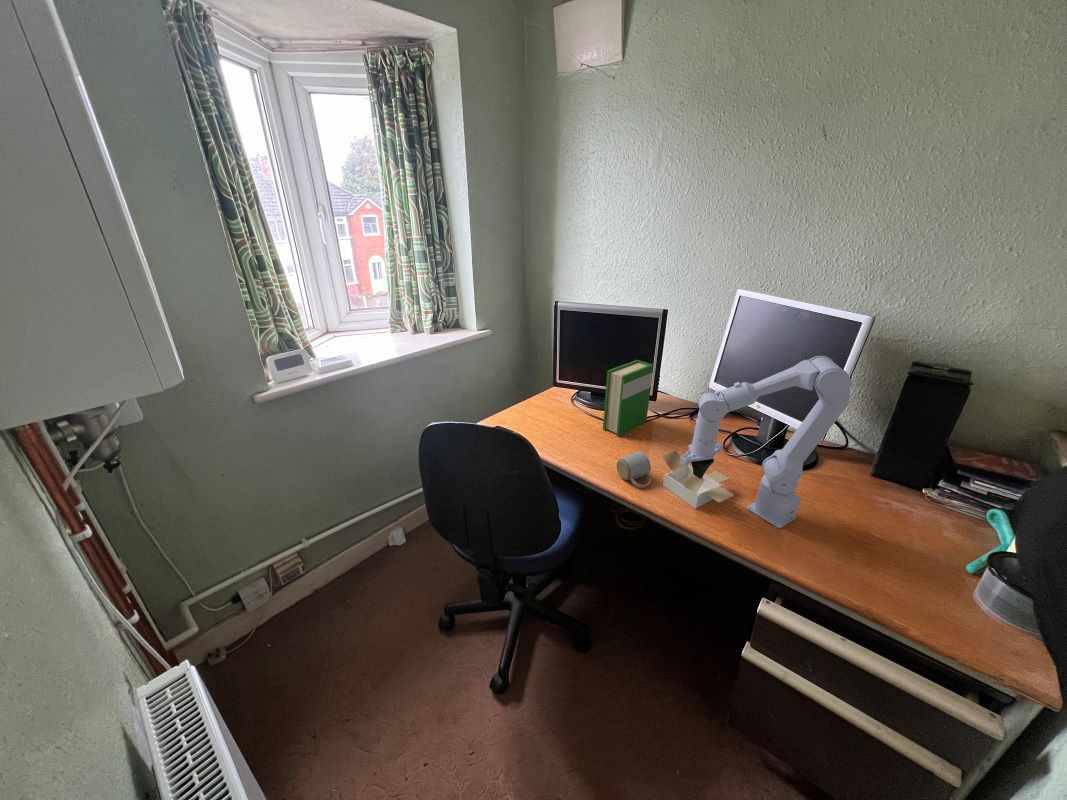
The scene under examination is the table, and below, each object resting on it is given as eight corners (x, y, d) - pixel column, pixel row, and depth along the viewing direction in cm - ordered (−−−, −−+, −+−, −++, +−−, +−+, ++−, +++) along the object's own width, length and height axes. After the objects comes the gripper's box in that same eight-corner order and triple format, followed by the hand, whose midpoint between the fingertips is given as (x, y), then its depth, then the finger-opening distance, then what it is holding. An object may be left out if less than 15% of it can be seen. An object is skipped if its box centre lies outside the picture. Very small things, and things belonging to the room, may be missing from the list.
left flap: (704, 479, 110) (704, 479, 110) (695, 493, 111) (695, 493, 110) (691, 471, 114) (691, 471, 114) (682, 484, 114) (682, 484, 114)
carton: (743, 500, 115) (746, 488, 113) (709, 518, 108) (712, 505, 106) (695, 471, 128) (698, 460, 126) (662, 486, 121) (664, 474, 119)
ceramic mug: (613, 473, 127) (616, 452, 124) (634, 466, 130) (637, 446, 127) (635, 492, 119) (638, 471, 115) (656, 485, 122) (660, 464, 118)
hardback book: (618, 437, 148) (624, 376, 138) (602, 429, 153) (607, 370, 143) (646, 422, 158) (653, 364, 148) (630, 415, 163) (636, 359, 153)
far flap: (675, 450, 125) (675, 451, 126) (662, 455, 123) (661, 456, 123) (685, 464, 123) (685, 464, 123) (671, 469, 120) (671, 470, 121)
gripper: (710, 424, 113) (702, 464, 119) (674, 437, 106) (667, 479, 112) (732, 434, 107) (723, 476, 113) (695, 449, 101) (687, 493, 107)
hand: (696, 478), depth 112 cm, fingers closed, pressing on left flap
